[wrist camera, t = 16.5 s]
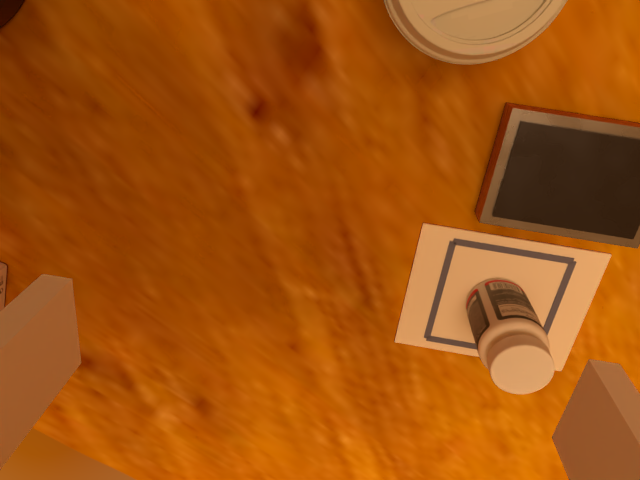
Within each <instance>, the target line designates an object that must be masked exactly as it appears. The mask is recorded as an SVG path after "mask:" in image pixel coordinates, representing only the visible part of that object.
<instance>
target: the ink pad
mask: <svg viewBox="0 0 640 480" xmlns="http://www.w3.org/2000/svg"><path fill="white" fill-rule="evenodd" d="M475 214H476V216H477V219H478V221H479V222H480V223H486V224H492V225H498V226H504V227H510V228H516V229H522V230H528V231H534V232H541V233H547V234H553V235H559V236H565V237H571V238H577V239H583V240H589V241H595V242H601V243H607V244H614V245H620V246H626V247H632V248H638V247H639V244H640V123H636V122H630V121H623V120H617V119H610V118H604V117H597V116H591V115H584V114H578V113H571V112H565V111H558V110H552V109H545V108H539V107H532V106H526V105H519V104H513V103H507V102H506V104H505V107H504V111H503V114H502V118H501V121H500V125H499V128H498V132H497V135H496V139H495V142H494V146H493V149H492V153H491V156H490V160H489V163H488V167H487V170H486V174H485V177H484V181H483V184H482V188H481V191H480V195H479V198H478V202H477V205H476V208H475Z"/></svg>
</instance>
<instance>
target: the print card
mask: <svg viewBox="0 0 640 480" xmlns="http://www.w3.org/2000/svg"><path fill="white" fill-rule="evenodd" d="M610 257H611V254H610V253H604V252H598V251H592V250H586V249H580V248H574V247H568V246H562V245H556V244H549V243H543V242H537V241H531V240H525V239H519V238H513V237H507V236H501V235H495V234H489V233H483V232H477V231H471V230H465V229H459V228H453V227H446V226H440V225H434V224H428V223H423V224H422V228H421V232H420V237H419V241H418V245H417V249H416V253H415V257H414V261H413V266H412V270H411V274H410V278H409V282H408V286H407V290H406V295H405V299H404V303H403V307H402V311H401V315H400V319H399V324H398V328H397V332H396V336H395V340H394V342H397V343H402V344H408V345H414V346H420V347H425V348H431V349H437V350H442V351H448V352H454V353H460V354H465V355H471V356H477V357H479V354H478V351H477V347H476V344H475V341H474V337H473V334H472V330H471V327H470V323H469V320H468V316H467V312H466V300H467V297H468V295H469V294H470V292H471V291H472V290H473V289H474V288H475V287H476V286H477V285H479V284H480V283H482V282H485V281H488V280H491V279H506V280H510V281H512V282H514V283H516V284H517V285H519V286H520V287H521V288H522V289H523V291H524V292H525V294H526V295H527V297H528V299H529V301H530V303H531V305H532V307H533V309H534V311H535V313H536V315H537V317H538V319H539V321H540V323H541V325H542V326H543V328H544V330H545V332H546V334H547V337H548V340H549V345H550V350H549V351H550V354H551V356H552V359H553V361H554V366H555V370H557V371H562V369H563V367H564V364H565V362H566V360H567V357H568V355H569V353H570V350H571V348H572V346H573V343H574V341H575V339H576V336H577V334H578V332H579V329H580V327H581V325H582V322H583V320H584V318H585V315H586V313H587V311H588V308H589V306H590V304H591V301H592V299H593V297H594V295H595V292H596V290H597V288H598V285H599V283H600V281H601V278H602V276H603V274H604V271H605V269H606V267H607V264H608V262H609V260H610Z"/></svg>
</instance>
